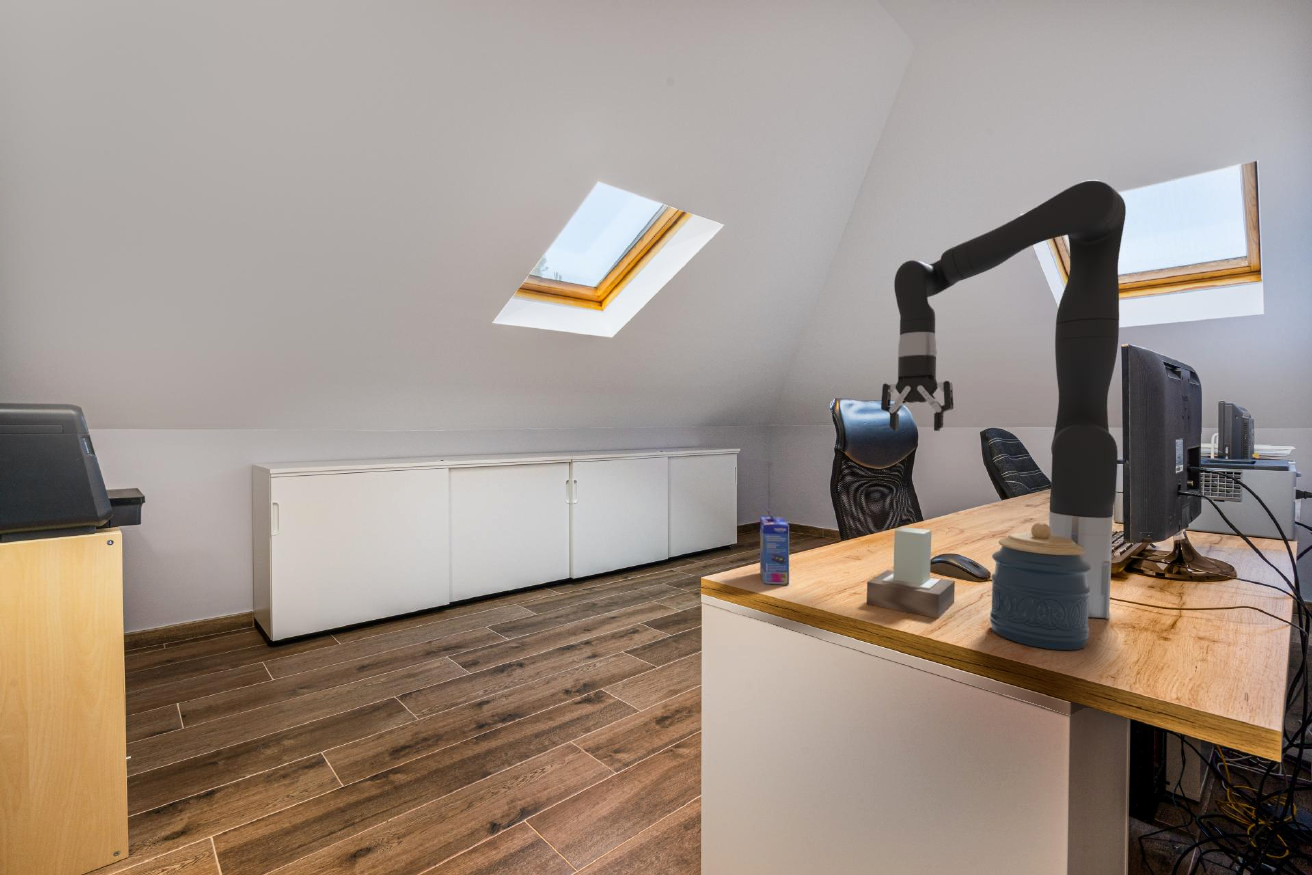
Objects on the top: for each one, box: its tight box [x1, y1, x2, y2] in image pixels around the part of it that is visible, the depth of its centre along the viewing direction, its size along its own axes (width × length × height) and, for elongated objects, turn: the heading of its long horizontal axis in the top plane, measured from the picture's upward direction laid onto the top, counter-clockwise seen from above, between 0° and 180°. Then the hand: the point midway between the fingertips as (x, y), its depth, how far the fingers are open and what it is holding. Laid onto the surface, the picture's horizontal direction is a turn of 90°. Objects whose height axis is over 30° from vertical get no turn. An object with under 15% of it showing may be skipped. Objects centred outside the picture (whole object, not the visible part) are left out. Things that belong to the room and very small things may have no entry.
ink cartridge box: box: [759, 507, 790, 586], centre depth 125 cm, size 10×6×14 cm, turn 174°
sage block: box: [892, 526, 932, 585], centre depth 109 cm, size 5×5×9 cm
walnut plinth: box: [866, 569, 956, 619], centre depth 109 cm, size 12×12×4 cm
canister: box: [989, 522, 1092, 651], centre depth 93 cm, size 13×13×18 cm
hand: (915, 430), depth 130 cm, fingers open, 8 cm apart
